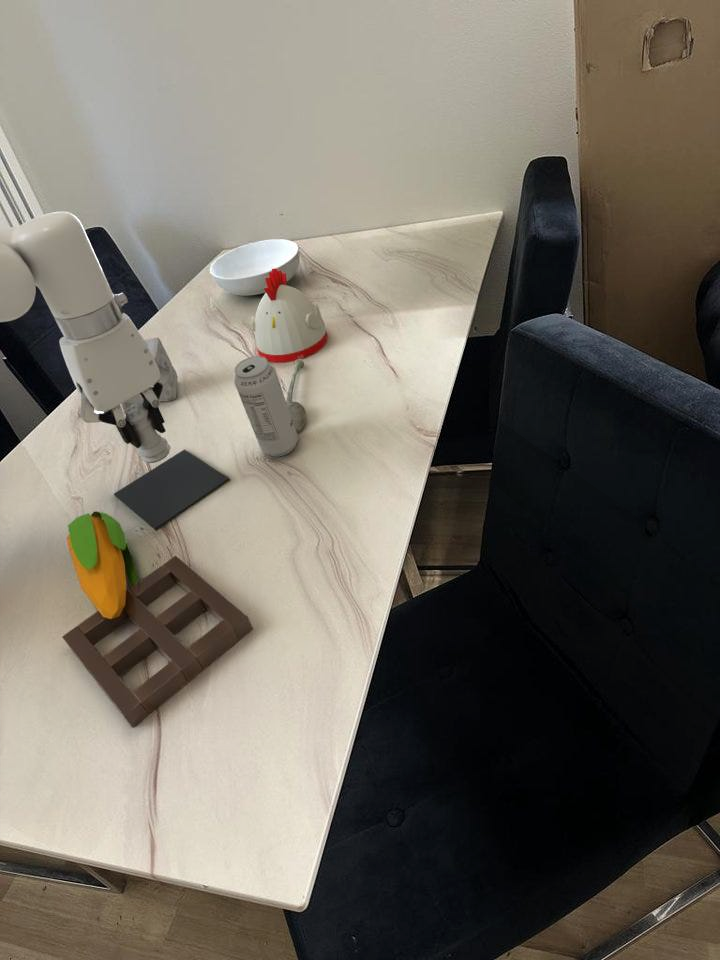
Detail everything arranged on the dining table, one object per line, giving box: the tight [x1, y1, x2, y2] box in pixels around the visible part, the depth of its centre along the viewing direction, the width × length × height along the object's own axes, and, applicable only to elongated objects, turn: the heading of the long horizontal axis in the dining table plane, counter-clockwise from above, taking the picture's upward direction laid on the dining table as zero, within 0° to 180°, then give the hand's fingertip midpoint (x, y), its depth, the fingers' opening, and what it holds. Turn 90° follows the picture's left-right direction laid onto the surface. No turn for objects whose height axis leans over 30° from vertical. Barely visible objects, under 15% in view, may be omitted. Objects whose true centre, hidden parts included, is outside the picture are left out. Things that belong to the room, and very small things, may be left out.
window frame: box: [62, 555, 254, 728], centre depth 77 cm, size 16×16×2 cm
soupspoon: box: [285, 359, 307, 434], centre depth 112 cm, size 22×3×7 cm
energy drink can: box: [233, 355, 299, 458], centre depth 98 cm, size 6×6×15 cm
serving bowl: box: [209, 238, 301, 297], centre depth 153 cm, size 21×21×7 cm
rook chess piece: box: [124, 404, 172, 464], centre depth 93 cm, size 4×4×8 cm
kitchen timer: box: [250, 268, 329, 364], centre depth 124 cm, size 14×14×15 cm
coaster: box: [113, 449, 231, 531], centre depth 100 cm, size 13×13×1 cm
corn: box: [66, 511, 139, 619], centre depth 84 cm, size 7×8×20 cm
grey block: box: [120, 336, 179, 413], centre depth 119 cm, size 10×8×10 cm
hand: (146, 435), depth 94 cm, fingers closed on rook chess piece, 3 cm apart
